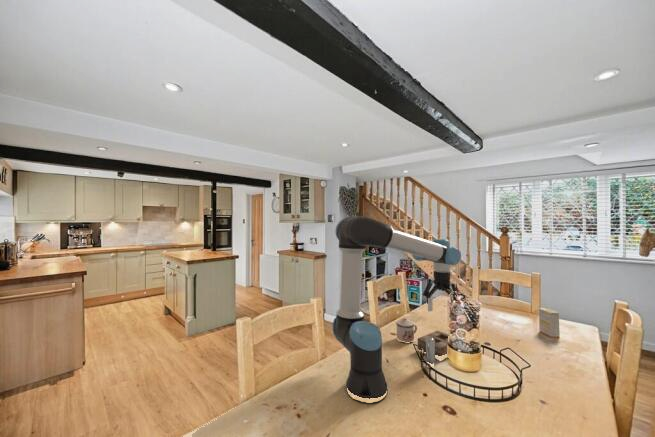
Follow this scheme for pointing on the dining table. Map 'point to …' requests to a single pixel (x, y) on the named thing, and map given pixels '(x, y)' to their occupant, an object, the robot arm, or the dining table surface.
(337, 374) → the dining table surface
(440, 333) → the bore block
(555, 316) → the supplement box
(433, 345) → the pin
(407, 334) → the teacup with lid
